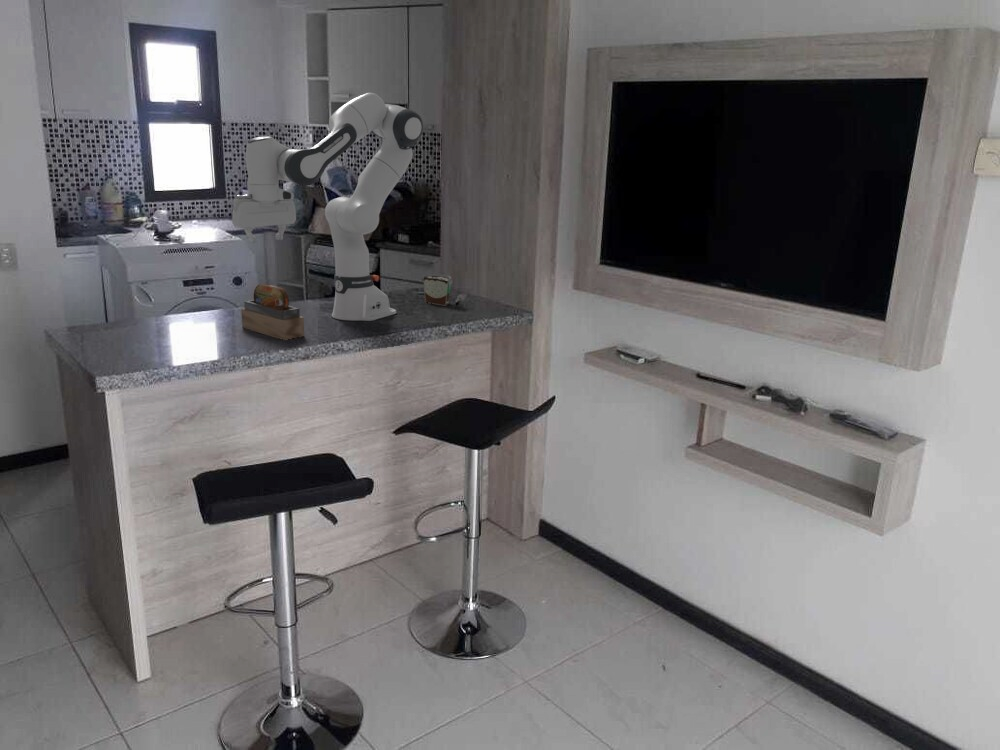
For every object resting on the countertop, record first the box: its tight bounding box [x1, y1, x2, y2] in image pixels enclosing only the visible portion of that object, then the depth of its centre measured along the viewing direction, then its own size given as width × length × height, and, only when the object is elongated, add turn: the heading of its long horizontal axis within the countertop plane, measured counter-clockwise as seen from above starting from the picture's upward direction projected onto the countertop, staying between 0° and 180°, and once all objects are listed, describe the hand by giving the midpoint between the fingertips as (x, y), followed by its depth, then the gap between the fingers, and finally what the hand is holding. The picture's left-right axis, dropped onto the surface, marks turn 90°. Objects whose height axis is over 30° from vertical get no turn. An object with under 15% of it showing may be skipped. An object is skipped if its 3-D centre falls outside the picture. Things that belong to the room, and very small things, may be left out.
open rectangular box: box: [240, 299, 305, 341], centre depth 247 cm, size 7×22×8 cm, turn 50°
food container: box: [421, 274, 453, 307], centre depth 296 cm, size 12×6×10 cm, turn 58°
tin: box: [253, 283, 290, 310], centre depth 246 cm, size 15×3×8 cm, turn 50°
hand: (266, 241), depth 241 cm, fingers open, 8 cm apart
